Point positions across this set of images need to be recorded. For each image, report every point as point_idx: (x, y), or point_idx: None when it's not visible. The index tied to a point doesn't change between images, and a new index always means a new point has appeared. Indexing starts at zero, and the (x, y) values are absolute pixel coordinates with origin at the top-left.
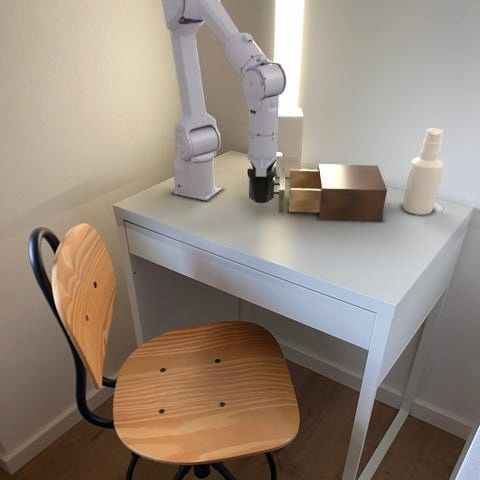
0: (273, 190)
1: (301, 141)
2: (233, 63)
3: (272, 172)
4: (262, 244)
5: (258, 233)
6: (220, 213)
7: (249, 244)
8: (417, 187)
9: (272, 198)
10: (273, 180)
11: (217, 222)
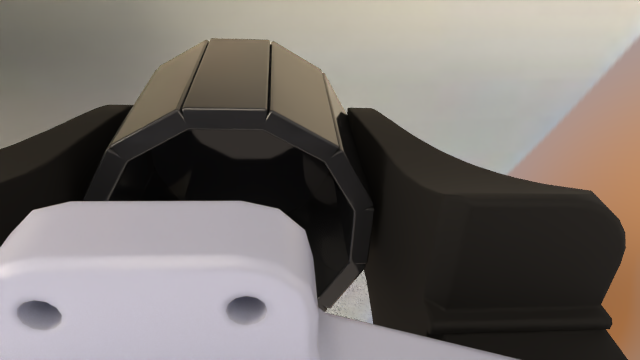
0: (283, 71)
1: None
2: None
3: (531, 242)
4: (490, 46)
5: (364, 70)
6: None
7: (480, 112)
8: None
9: (290, 52)
10: (283, 121)
11: None
